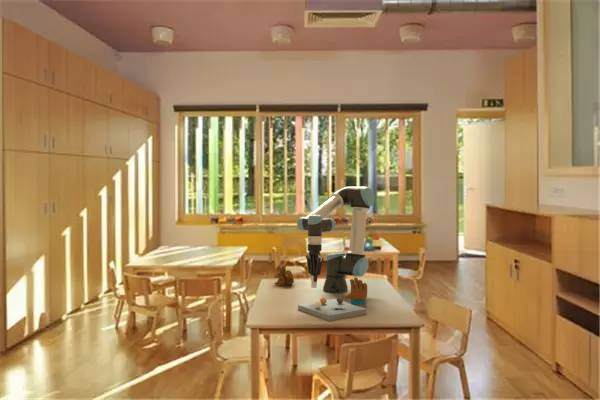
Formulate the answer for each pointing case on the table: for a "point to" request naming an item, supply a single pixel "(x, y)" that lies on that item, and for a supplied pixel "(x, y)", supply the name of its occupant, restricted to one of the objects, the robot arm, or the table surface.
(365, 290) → the toy
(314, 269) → the robot arm
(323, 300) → the ball
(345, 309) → the grey flat plate
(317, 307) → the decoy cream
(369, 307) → the table surface
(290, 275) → the stuffed squirrel
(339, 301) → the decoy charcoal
